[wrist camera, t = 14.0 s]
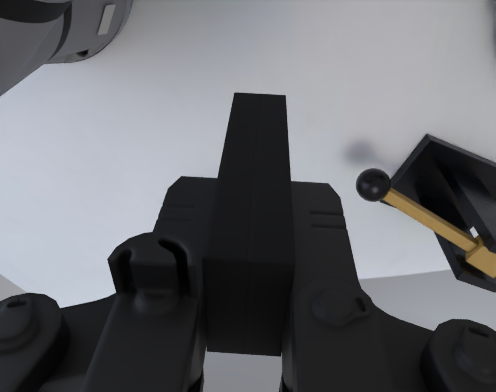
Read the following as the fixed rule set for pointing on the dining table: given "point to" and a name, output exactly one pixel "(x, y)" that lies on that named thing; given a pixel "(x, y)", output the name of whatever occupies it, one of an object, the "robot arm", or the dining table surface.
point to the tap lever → (425, 218)
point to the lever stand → (453, 198)
